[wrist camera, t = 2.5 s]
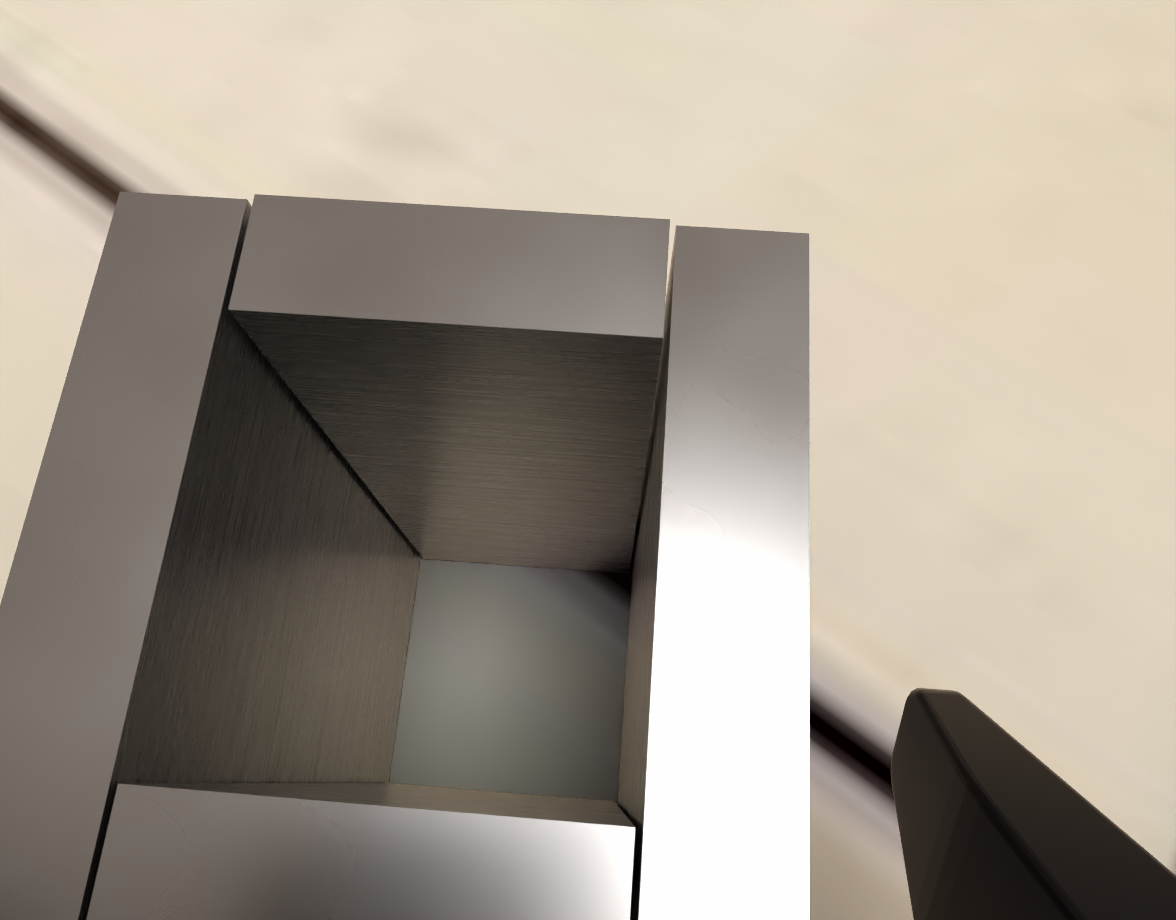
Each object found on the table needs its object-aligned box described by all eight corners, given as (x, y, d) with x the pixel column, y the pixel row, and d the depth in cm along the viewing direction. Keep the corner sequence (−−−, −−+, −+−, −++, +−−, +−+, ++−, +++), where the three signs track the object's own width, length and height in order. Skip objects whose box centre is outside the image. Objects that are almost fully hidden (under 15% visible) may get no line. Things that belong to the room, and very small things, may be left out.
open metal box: (685, 884, 16) (810, 1033, 7) (307, 852, 16) (-99, 948, 7) (699, 516, 18) (809, 227, 9) (366, 492, 18) (121, 186, 9)
